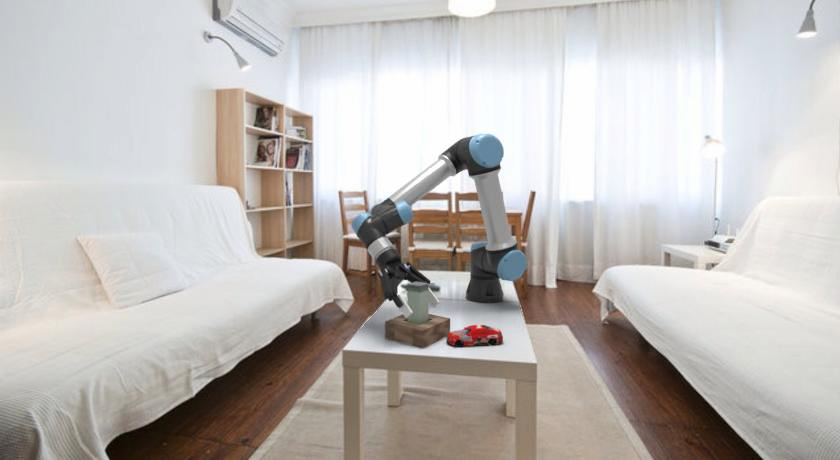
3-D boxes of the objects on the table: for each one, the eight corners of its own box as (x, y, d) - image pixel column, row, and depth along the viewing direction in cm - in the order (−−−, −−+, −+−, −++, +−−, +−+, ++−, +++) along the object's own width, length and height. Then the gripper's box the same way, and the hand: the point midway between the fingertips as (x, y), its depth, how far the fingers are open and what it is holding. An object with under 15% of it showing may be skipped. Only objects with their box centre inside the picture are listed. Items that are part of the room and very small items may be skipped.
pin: (416, 332, 130) (416, 281, 128) (428, 335, 127) (428, 283, 126) (407, 336, 126) (407, 283, 125) (419, 339, 124) (419, 286, 122)
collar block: (413, 325, 136) (413, 310, 136) (450, 334, 128) (450, 318, 128) (385, 337, 125) (384, 321, 125) (423, 348, 117) (423, 330, 117)
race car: (448, 349, 117) (448, 331, 117) (444, 340, 124) (444, 324, 123) (505, 346, 119) (505, 329, 119) (498, 338, 126) (498, 322, 125)
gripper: (403, 257, 144) (439, 307, 137) (350, 268, 124) (389, 327, 117) (415, 243, 140) (453, 293, 133) (363, 252, 120) (404, 312, 113)
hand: (423, 309), depth 125 cm, fingers open, 13 cm apart
